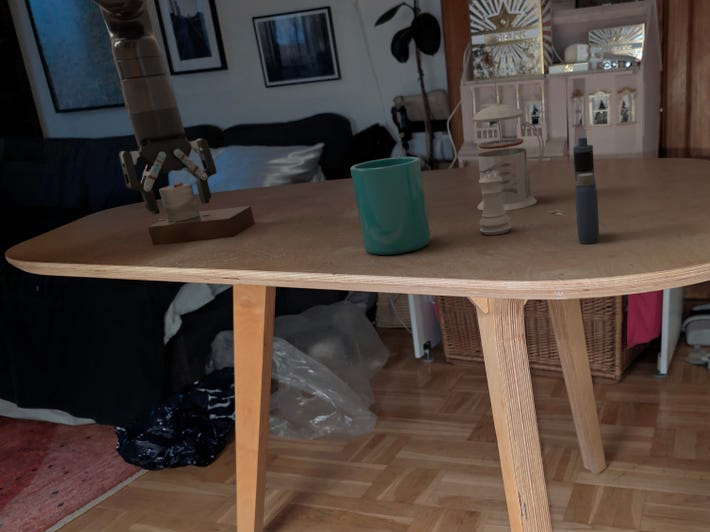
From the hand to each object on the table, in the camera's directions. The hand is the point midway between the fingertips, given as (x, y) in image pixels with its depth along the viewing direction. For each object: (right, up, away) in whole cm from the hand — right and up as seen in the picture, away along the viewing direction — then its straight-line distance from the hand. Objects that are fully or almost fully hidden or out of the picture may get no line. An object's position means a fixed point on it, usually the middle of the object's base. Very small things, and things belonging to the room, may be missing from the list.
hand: (181, 208), depth 119 cm
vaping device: (+64, -11, -31) cm, 72 cm away
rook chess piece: (+53, -8, -22) cm, 58 cm away
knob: (0, -1, +1) cm, 2 cm away
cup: (+40, -10, -22) cm, 47 cm away
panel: (+3, -4, +2) cm, 6 cm away
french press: (+56, -1, -5) cm, 56 cm away
